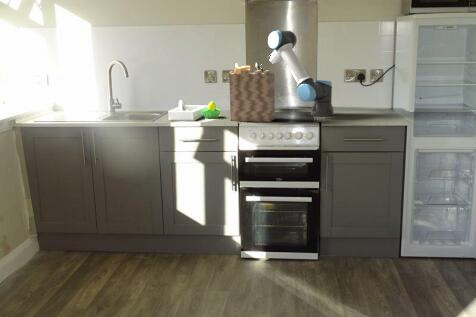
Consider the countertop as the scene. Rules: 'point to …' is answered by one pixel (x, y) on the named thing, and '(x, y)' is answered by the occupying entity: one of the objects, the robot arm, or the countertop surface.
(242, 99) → the brown patterned box
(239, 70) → the bar
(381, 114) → the countertop surface
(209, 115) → the fruit basket
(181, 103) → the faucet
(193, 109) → the tray
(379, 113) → the countertop surface
